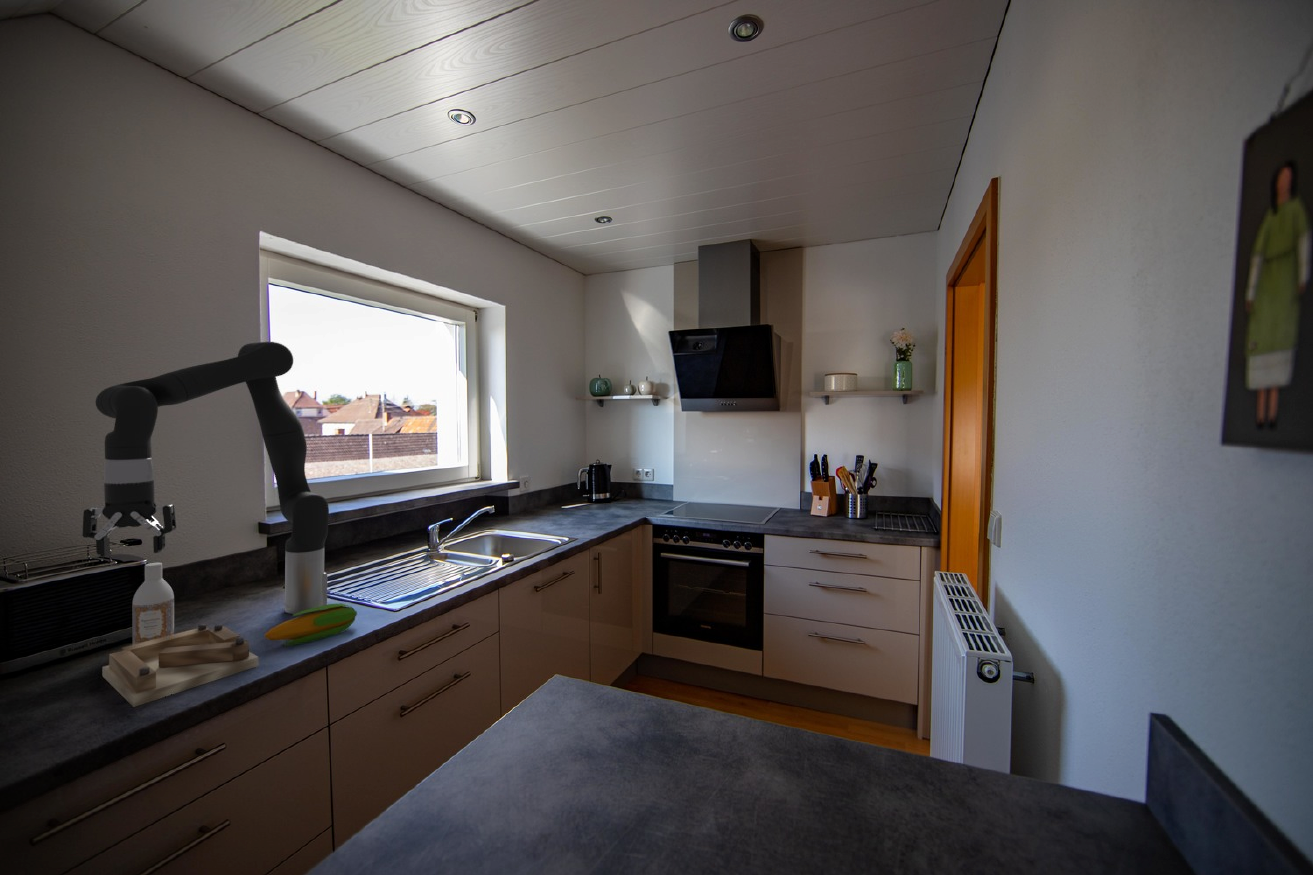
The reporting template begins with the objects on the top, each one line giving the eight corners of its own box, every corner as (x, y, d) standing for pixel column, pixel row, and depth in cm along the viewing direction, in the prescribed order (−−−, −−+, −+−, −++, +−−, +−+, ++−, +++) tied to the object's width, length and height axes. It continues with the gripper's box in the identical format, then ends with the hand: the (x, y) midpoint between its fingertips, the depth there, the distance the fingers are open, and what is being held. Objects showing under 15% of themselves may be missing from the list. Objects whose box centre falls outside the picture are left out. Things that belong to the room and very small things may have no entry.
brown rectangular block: (251, 653, 116) (251, 634, 116) (245, 659, 113) (245, 640, 113) (166, 660, 112) (166, 641, 112) (158, 667, 109) (158, 648, 108)
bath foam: (128, 658, 117) (128, 569, 116) (137, 646, 122) (137, 562, 122) (170, 651, 120) (170, 566, 120) (176, 640, 126) (176, 558, 125)
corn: (362, 601, 135) (269, 622, 120) (362, 630, 135) (269, 655, 120) (350, 596, 140) (259, 616, 125) (351, 624, 140) (260, 648, 125)
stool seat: (220, 642, 126) (221, 618, 126) (258, 665, 115) (258, 639, 115) (102, 676, 109) (102, 647, 109) (133, 706, 98) (133, 675, 98)
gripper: (179, 476, 118) (181, 546, 119) (93, 478, 112) (96, 552, 113) (165, 480, 111) (167, 555, 112) (73, 483, 105) (76, 562, 106)
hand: (131, 554), depth 113 cm, fingers open, 8 cm apart
